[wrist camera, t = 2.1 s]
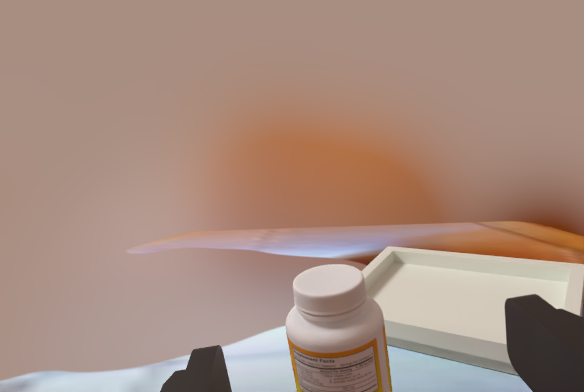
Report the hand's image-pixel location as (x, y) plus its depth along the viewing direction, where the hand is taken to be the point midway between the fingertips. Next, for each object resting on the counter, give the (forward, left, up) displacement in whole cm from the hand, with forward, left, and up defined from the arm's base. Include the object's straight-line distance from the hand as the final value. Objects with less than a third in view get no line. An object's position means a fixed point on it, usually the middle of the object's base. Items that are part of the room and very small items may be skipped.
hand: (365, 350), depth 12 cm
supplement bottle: (-7, +9, -13) cm, 18 cm away
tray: (-5, +25, -13) cm, 29 cm away
